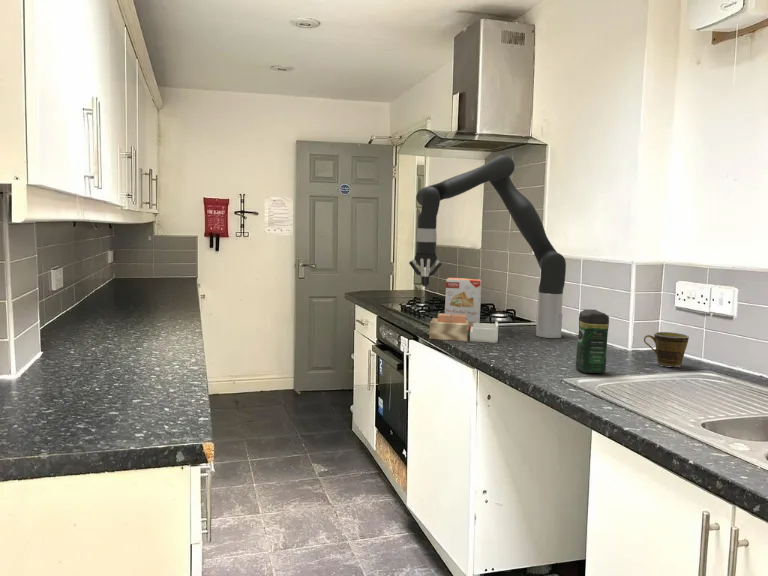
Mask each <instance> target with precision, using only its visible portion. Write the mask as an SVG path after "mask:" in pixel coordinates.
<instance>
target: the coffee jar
mask: <svg viewBox="0 0 768 576" xmlns="http://www.w3.org/2000/svg"><path fill="white" fill-rule="evenodd" d="M609 326H610V316H609V315H608V314H606V313H604V312H602V311H600V310H598V309H586V308H585V309H583V310H582V311H580V312H579V313H578V329H577V330H578V331H577V332H578V334H577V344H576V345H577V346H576V356H575V357H576V358H575V368H576V369H577V370H578V371H579V372H582V373H586V374H587V373H588V374H591V373H599V374H605V372H606V367H607V349H608V336H609Z"/></svg>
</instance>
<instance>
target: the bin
mask: <svg viewBox="0 0 768 576" xmlns="http://www.w3.org/2000/svg"><path fill="white" fill-rule="evenodd" d="M498 335H499V322H498V321H495V323H485V322H484V323H481V322H480V323H473V327H471V331H469V342H474V343H475V342H478V343H479V342H480V343H491V344H492V343H493V344H496V343H498V341H499V340H498V339H499V338H498Z"/></svg>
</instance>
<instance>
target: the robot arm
mask: <svg viewBox="0 0 768 576" xmlns="http://www.w3.org/2000/svg"><path fill="white" fill-rule="evenodd" d="M514 172H515V162H514V160H513V159H512V157H510V156H509V155H506V154H505V155H504V154H501V155H496V156H495V157H494V158H492V159H491V160H490V161H488V162H487V163H485V164H483V165H481V166H479V167H477V168H474V169H472V170H469V171H465V172H463V173H461V174H458V175H456V176H453V177H450V178H448V179H445V180H443V181H440V182H437V183H435V184H432V185H428V186H424V187H422V188H421V189H419V190H418V192H417V193H416V202H417V203H418V204H419V205H420V206H421V211H420V213H419V214H418V216H417V231H416V239H415V240H416V242H415V243H416V244H415V245H416V248H415V256H414V259H412V260H410V261H409V263H408V264H409V265H410V266H411V268H412V270H413V271H414V273H415V274H416V275H417V276H420V284H421V285H420V286H422V287H423V288H424V287H426V288H427V287H428V286H429V284H430V277H431V276H433V275H435V274H436V272H437V271H438V270H439V269H440V267H441V266H442V265H443V262H442V261H439V260H438V257H437V239H438V238H437V237H438V236H437V217H438V213H439V208H440V204H441V201H443V200H448V199H452V198H454V197H456V196H459V195H462V194H464V193H466V192H468V191H471V190H472V189H475V188H476V187H479V186H480V185H482V184H485V183H488V182H490V184H491V185H492V187H493V188H494V189H495V191H496V193H497V194H498V195H499V197H500V199H501V200H502V202H503V203H504V206H505V208H506V210H507V211H508V213H509V215H510V216H511V219H512V220H513V222H514V224H515V226H516V227H517V229H518V231H519V232H520V234H521V235H522V237H523V238H524V240H525V241H526V242H527V244H528V245H529V246H530V248H531V250H532V252H533V255H534V257H535V259H536V261H537V264H538V266H539V269H540V281H539V285H538V295H537V312H536V313H537V316H536V326H535V327H536V328H535V331H536V332H535V333H536V334H535V335H536V336H537V337H540V338H547V339H560V338H562V326H563V297H564V294H563V293H564V288H565V283H566V273H567V271H566V269H567V262H566V258H565V257H564V256H563V254H561V253H560V252H557V250H556V249H555V247H554V246H553V245H552V243H551V242H550V240H549V238H548V236H547V233H546V230H545V227H544V225H543V223H542V219H541V218H540V215H539V213H538V212H537V209H536V208H535V207H534V205H533V203H532V202H531V201H530V200H529V198H527V197H526V196H524V194H522V193H521V192H520V191H519V190H518V189H517V188H516V186H515V185H514V183H513V181H512V179H511V178H510V177H511V176H512V175H513V173H514ZM416 264H417V265H418V266H419V267H420V270H419V268H418V267H417V265H416ZM434 264H435V267H434V268H433V270H432V271H431V268H432V267H433V265H434Z"/></svg>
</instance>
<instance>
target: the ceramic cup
mask: <svg viewBox="0 0 768 576" xmlns="http://www.w3.org/2000/svg"><path fill="white" fill-rule="evenodd" d="M653 335H654V336H653ZM653 335H649V334H647V335H645V336H644V338H643V342H644V343H645V345H647V346H648V347H649V348H650V349H651V350H652V351H653V352H654V354H655V355H656V360H657V361H656V362H657V365H658V364H659V365H663V366H671V367H679V366H681V367H682V364H683V361H684V356H685V353H686V350H687V347H688V343H689V339H690V337H689V335H687V334H684V333H680V332H679V333H678V332H670V331H668V332H667V331H659V332H654V333H653ZM646 338H651V340H653V342H654V344H655V349H654V348H653V347H652V346H651V345H650V344H649V343H648V342H647V341H646ZM659 365H658V366H659Z"/></svg>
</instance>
